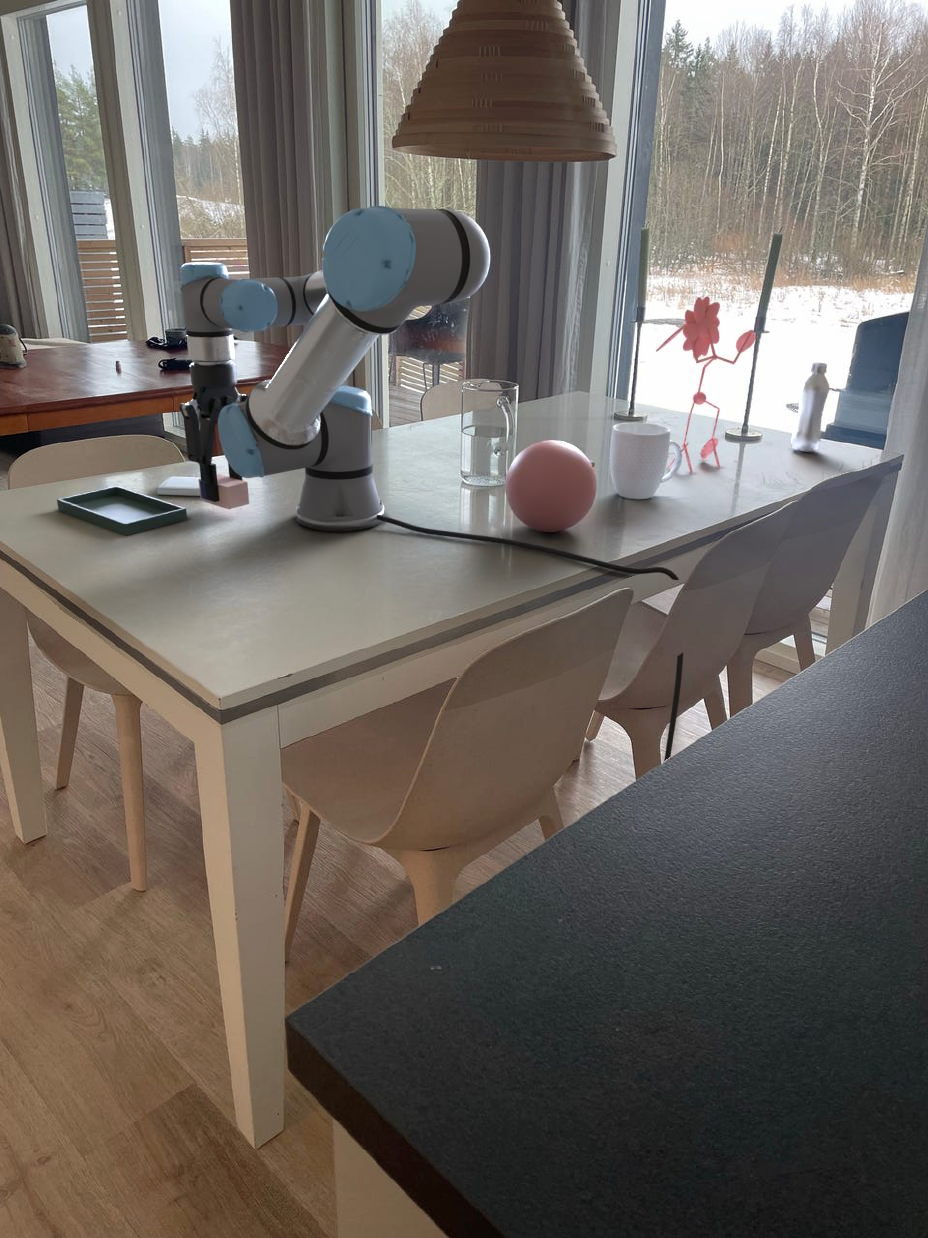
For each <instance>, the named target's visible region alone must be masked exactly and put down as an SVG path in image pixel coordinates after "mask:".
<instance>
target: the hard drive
mask: <svg viewBox="0 0 928 1238" xmlns="http://www.w3.org/2000/svg"><path fill="white" fill-rule="evenodd" d="M198 479H201V477H198V476H197V477H196V476H195V477H194V476H169V477H167V478H166V479H165V480H164V481H163V482H161V483H160V484H159V485H158V486H157V487H156V495H160V496H189V497H190V496H191V497H200V490H199V480H198Z"/></svg>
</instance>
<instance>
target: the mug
mask: <svg viewBox="0 0 928 1238" xmlns="http://www.w3.org/2000/svg"><path fill="white" fill-rule="evenodd" d="M611 430H612V431H611V437H610V450H609V451H610V452H609V454H610V455H609V469H610V470H609V472H610V476H611V481H612V485H613V487H614V489H615V491H616V493H617V494H618V495H619V496H620V497H621V498H625V499H628V500H646V499H647V500H648V499H650V498H652V497H653V496H654V495H655V494H656V492H657V490H658V489H659V487H660V485H661V484H662V483H665V482H668V481H669V480H671V479H673V478H674V477H675V476H676V475H677V474H678V472H679V470H680V468H681V465H682V460H683V451H681V450H682V449H681V448H682V447H681V446H680V445H679V444H678V443H677V441H675V440H673V439H671V431H672V430H671V429H670V427H667V426H665V425H661V424H656V423H648V422H647V423H646V422H623V423H617V424H614V425H613V426H612V429H611ZM670 446H672V447H673V449H674V452H675V457H676V458H675V457H674V458H675V461H674V462H673V466H672V468H671V469H670V471H669V472H668V473H666V474H665V472H666V468H667V464H668V458H669V455H670V453H669V451H670Z"/></svg>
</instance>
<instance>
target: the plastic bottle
mask: <svg viewBox="0 0 928 1238" xmlns="http://www.w3.org/2000/svg"><path fill="white" fill-rule="evenodd" d="M827 369H828V364H827V363H825V362H811V363H810V364H809V369H808V372H809V374H808V375H806V377H805V378H804V379H803V380H802V382H801V383H800V386H799V403H798V412H797V419H796V422H795V427H794V430H793V431H792V434H791V440H790V441H791V442H790V445H791V447H792V449H793V450H796V451H799V452H803V453H808V452H815V451H816V450H817V449H818V448H819V446H820V445H821V444H820V443H821V438H822V436H821V433H822V432H821V429H822V427H821V426H822V417H823V412H824V408H825V404H826V401H827V398H828V394H829V392H830V384H829V382H828V379H827V377H826V375H825V374H826V373H827Z"/></svg>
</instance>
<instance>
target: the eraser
mask: <svg viewBox="0 0 928 1238" xmlns="http://www.w3.org/2000/svg"><path fill="white" fill-rule="evenodd" d="M198 480H199V490H200V496H199V498H200V502H202V503H203V502H204V503H207V504H210V505H214V506H216V507H220V508H224V509H227V510H232V509H236V508H239V507H243V506H246V505H250V499H249V498H250V497H249V495H250V494H249V483H248V482H249V481H246V480H243V481H242V480H238V479H234V478H231V477H229V476H226V475H223V474H219V473H217V481H218V492H219V501H217V502H215V501H211V500H208V499H206V492H205V483H204V482H202V481H201V479H198Z"/></svg>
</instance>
